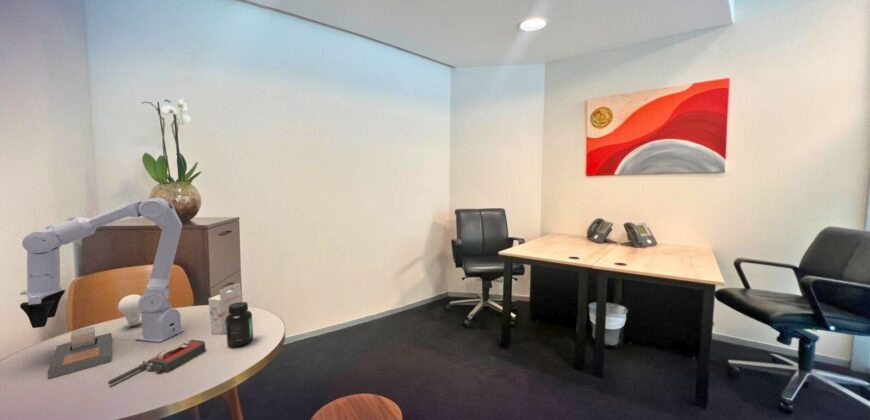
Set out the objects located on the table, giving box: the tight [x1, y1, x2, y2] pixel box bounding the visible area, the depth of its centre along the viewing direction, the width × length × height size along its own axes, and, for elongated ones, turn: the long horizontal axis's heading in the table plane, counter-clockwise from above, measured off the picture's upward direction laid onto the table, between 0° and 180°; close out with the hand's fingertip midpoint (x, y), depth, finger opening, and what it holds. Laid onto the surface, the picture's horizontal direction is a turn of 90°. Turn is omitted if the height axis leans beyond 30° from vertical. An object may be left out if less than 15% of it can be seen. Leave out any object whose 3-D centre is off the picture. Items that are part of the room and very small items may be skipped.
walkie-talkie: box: [107, 339, 206, 385], centre depth 85 cm, size 9×4×20 cm
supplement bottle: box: [225, 301, 254, 349], centre depth 96 cm, size 7×7×12 cm
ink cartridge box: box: [207, 282, 243, 335], centre depth 106 cm, size 9×5×15 cm, turn 168°
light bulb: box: [117, 294, 142, 328], centre depth 108 cm, size 7×7×11 cm
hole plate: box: [47, 332, 113, 380], centre depth 89 cm, size 18×11×2 cm, turn 45°
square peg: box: [70, 326, 96, 350], centre depth 92 cm, size 4×4×6 cm
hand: (44, 322), depth 88 cm, fingers open, 7 cm apart
